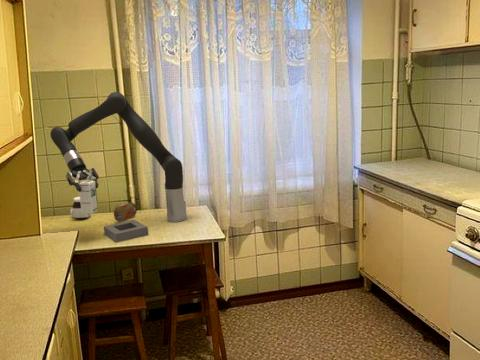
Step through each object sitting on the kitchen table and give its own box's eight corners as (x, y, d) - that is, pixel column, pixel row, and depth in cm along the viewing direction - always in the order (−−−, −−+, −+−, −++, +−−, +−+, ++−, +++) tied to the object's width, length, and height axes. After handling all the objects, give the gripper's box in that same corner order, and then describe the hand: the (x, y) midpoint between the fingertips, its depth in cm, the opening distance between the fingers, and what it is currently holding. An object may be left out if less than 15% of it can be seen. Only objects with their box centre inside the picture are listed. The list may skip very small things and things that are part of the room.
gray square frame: (135, 227, 255) (134, 219, 254) (148, 234, 242) (147, 226, 241) (104, 234, 246) (103, 226, 245) (116, 242, 233) (115, 234, 232)
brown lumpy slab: (117, 223, 263) (116, 208, 261) (113, 223, 264) (111, 207, 263) (137, 216, 275) (136, 201, 273) (133, 215, 277) (132, 200, 275)
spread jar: (85, 221, 270) (82, 200, 268) (65, 221, 272) (62, 200, 270) (94, 214, 282) (92, 194, 279) (75, 214, 284) (73, 194, 281)
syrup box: (92, 213, 233) (89, 183, 230) (81, 213, 234) (77, 182, 231) (98, 210, 238) (95, 180, 235) (87, 210, 240) (84, 180, 237)
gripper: (62, 159, 231) (76, 187, 226) (90, 154, 241) (105, 181, 235) (58, 169, 236) (72, 196, 231) (86, 164, 246) (100, 190, 240)
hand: (88, 189), depth 233 cm, fingers closed on syrup box, 8 cm apart
